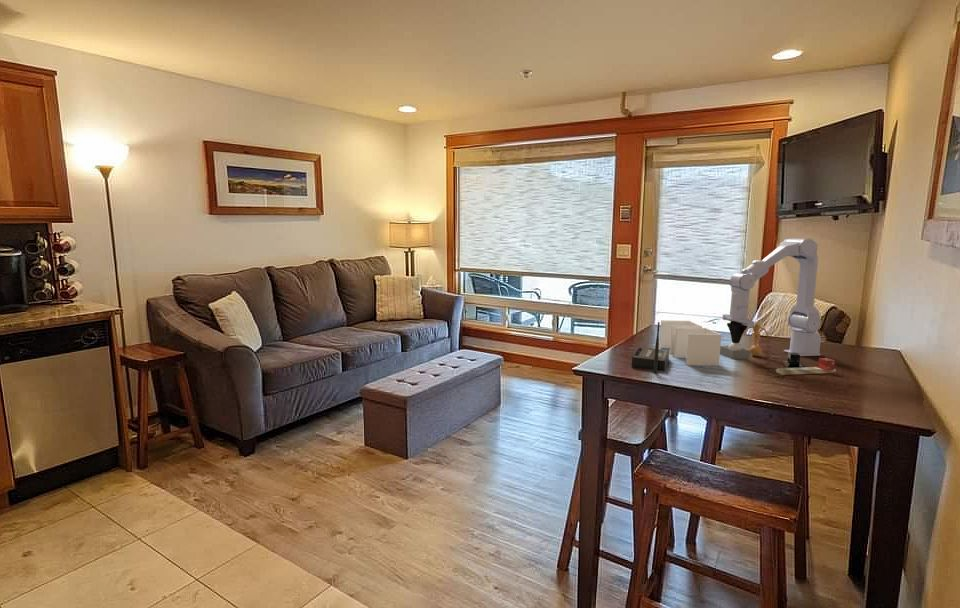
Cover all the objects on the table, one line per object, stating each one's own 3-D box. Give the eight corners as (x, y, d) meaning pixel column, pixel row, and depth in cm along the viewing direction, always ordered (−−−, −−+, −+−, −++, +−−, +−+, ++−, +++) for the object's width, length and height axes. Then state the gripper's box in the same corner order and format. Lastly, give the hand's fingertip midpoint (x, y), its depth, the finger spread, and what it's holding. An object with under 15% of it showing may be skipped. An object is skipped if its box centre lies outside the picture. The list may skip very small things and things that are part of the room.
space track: (827, 370, 170) (829, 357, 169) (836, 373, 166) (838, 359, 166) (775, 372, 166) (777, 358, 165) (783, 375, 163) (785, 361, 162)
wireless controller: (633, 356, 184) (636, 310, 181) (673, 361, 178) (677, 314, 176) (624, 370, 166) (627, 319, 163) (669, 376, 160) (673, 323, 158)
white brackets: (718, 365, 173) (721, 334, 171) (687, 365, 173) (689, 334, 171) (686, 348, 198) (688, 320, 196) (659, 348, 197) (661, 320, 196)
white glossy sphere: (735, 352, 189) (737, 340, 188) (744, 355, 184) (745, 343, 184) (724, 353, 188) (726, 341, 187) (733, 356, 184) (734, 343, 183)
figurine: (743, 356, 186) (747, 324, 184) (740, 352, 192) (743, 321, 190) (769, 358, 184) (772, 325, 182) (764, 354, 190) (768, 322, 188)
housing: (736, 353, 191) (737, 345, 190) (749, 358, 184) (750, 350, 183) (719, 353, 189) (720, 345, 189) (732, 358, 182) (732, 350, 182)
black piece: (808, 372, 169) (810, 359, 168) (783, 369, 171) (784, 356, 171) (800, 363, 180) (802, 350, 179) (777, 360, 183) (778, 348, 182)
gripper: (716, 303, 190) (713, 338, 192) (743, 309, 176) (739, 347, 178) (733, 302, 191) (730, 337, 193) (761, 309, 177) (757, 347, 179)
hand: (735, 342), depth 186 cm, fingers closed, pressing on white glossy sphere
